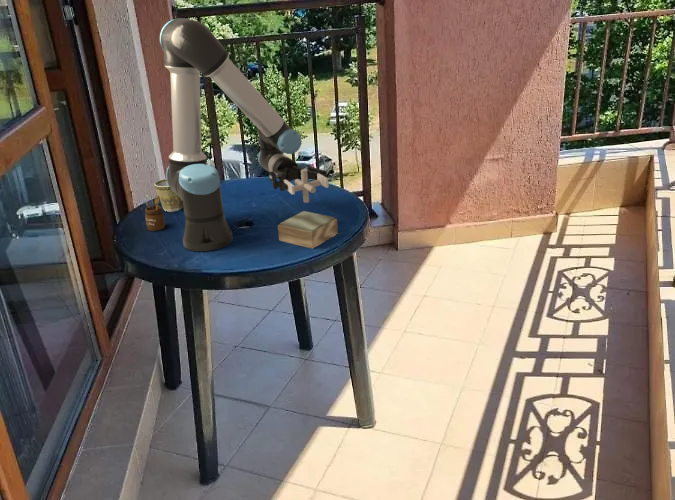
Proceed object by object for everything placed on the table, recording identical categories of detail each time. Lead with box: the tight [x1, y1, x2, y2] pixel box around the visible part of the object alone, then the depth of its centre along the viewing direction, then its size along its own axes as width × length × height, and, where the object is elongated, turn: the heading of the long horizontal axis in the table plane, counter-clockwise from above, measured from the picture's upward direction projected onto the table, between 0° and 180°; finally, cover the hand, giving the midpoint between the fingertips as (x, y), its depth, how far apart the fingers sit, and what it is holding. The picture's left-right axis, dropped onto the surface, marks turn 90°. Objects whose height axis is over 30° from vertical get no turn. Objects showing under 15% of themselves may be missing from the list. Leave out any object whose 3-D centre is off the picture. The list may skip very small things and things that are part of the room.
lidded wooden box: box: [277, 210, 339, 250], centre depth 197 cm, size 13×13×6 cm
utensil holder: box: [144, 194, 166, 232], centre depth 209 cm, size 6×6×12 cm
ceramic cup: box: [153, 177, 184, 213], centre depth 226 cm, size 13×10×10 cm
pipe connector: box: [293, 169, 322, 203], centre depth 192 cm, size 10×10×10 cm
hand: (310, 186), depth 188 cm, fingers closed on pipe connector, 10 cm apart
